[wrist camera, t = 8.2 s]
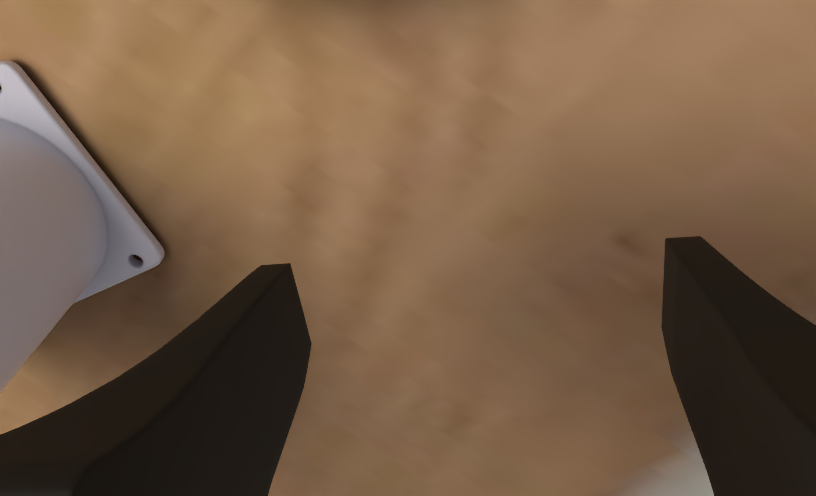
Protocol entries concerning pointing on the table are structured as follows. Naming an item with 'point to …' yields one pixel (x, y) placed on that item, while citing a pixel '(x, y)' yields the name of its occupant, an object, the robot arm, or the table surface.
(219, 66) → the table surface
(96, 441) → the robot arm
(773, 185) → the table surface
